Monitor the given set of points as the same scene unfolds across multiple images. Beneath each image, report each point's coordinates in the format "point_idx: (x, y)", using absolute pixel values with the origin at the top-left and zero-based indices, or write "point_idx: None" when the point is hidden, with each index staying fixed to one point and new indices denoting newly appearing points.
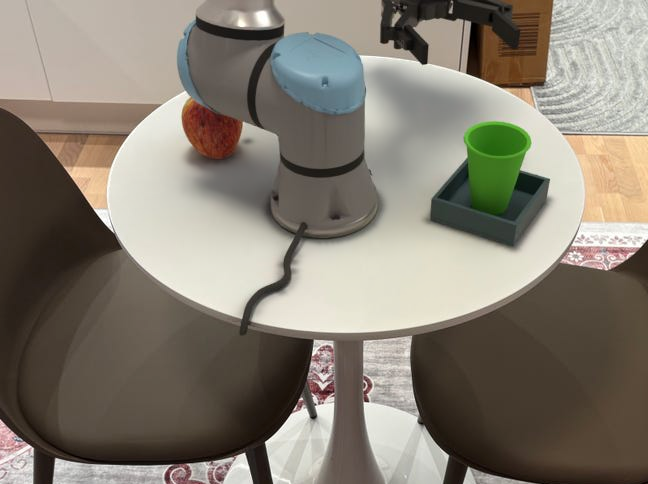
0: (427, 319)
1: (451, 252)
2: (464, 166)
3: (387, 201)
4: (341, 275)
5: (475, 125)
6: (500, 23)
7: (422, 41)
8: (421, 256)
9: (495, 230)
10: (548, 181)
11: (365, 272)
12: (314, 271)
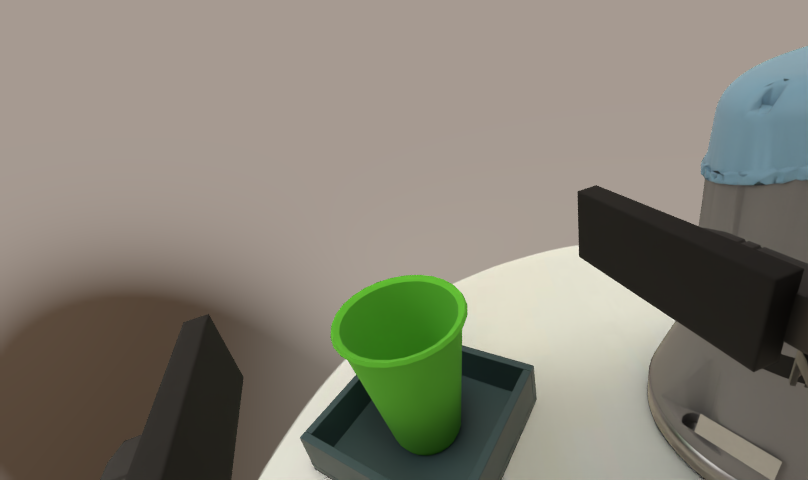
0: (514, 261)
1: (494, 339)
2: (469, 476)
3: (641, 447)
4: None
5: (437, 345)
6: (194, 448)
7: (610, 198)
8: (536, 328)
9: None
10: (306, 430)
11: (607, 298)
12: None
